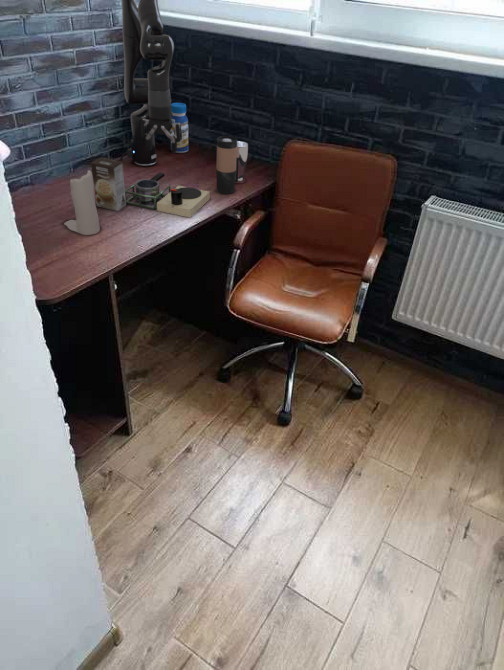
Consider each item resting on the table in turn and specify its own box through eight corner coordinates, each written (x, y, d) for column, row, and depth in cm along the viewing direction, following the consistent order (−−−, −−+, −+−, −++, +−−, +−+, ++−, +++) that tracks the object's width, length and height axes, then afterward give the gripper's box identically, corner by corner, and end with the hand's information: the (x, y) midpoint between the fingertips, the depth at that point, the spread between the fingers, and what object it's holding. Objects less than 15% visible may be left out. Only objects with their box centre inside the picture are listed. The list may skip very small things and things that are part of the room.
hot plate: (188, 218, 176) (188, 210, 174) (155, 211, 178) (155, 203, 176) (209, 199, 190) (209, 191, 188) (178, 192, 193) (178, 184, 191)
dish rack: (124, 203, 182) (123, 191, 179) (141, 191, 192) (140, 179, 189) (155, 210, 180) (155, 197, 176) (171, 197, 189) (171, 185, 186)
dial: (184, 201, 179) (183, 189, 176) (179, 206, 176) (179, 193, 173) (174, 199, 180) (173, 187, 177) (169, 204, 177) (168, 191, 174)
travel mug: (238, 189, 199) (240, 138, 187) (229, 195, 193) (231, 143, 181) (221, 185, 201) (222, 134, 189) (212, 191, 196) (213, 139, 183)
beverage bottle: (185, 146, 235) (184, 101, 223) (191, 152, 229) (190, 106, 217) (168, 148, 232) (166, 102, 220) (174, 154, 226) (172, 107, 214)
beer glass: (247, 178, 209) (249, 141, 199) (245, 184, 203) (247, 147, 194) (231, 176, 209) (232, 140, 200) (228, 182, 204) (230, 145, 194)
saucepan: (132, 202, 183) (131, 185, 179) (153, 187, 196) (152, 170, 192) (153, 206, 182) (152, 189, 178) (172, 191, 194) (172, 174, 190)
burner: (169, 196, 183) (169, 194, 182) (181, 186, 190) (181, 185, 190) (194, 201, 181) (194, 200, 180) (205, 191, 188) (205, 190, 188)
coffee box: (95, 206, 179) (89, 162, 169) (105, 200, 184) (99, 156, 174) (118, 211, 177) (113, 167, 167) (127, 204, 182) (123, 161, 172)
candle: (74, 217, 171) (64, 159, 158) (104, 229, 166) (96, 170, 153) (58, 225, 166) (46, 166, 154) (88, 237, 161) (79, 176, 148)
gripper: (135, 103, 165) (139, 152, 175) (177, 108, 163) (178, 157, 174) (143, 97, 171) (146, 145, 181) (183, 102, 169) (184, 150, 180)
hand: (162, 151), depth 177 cm, fingers open, 8 cm apart
